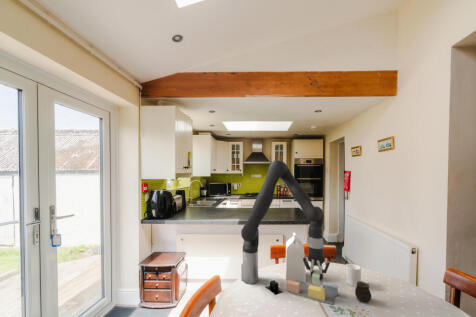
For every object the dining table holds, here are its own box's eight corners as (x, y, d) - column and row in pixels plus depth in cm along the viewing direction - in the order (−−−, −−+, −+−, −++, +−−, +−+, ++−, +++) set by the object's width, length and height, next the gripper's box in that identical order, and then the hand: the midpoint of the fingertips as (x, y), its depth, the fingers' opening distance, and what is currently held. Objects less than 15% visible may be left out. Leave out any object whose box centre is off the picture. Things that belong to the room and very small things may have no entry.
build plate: (286, 294, 117) (286, 285, 117) (275, 298, 114) (275, 289, 114) (272, 283, 128) (271, 275, 128) (261, 287, 124) (261, 278, 125)
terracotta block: (285, 289, 120) (285, 282, 120) (287, 286, 123) (287, 279, 123) (298, 293, 116) (298, 285, 116) (300, 290, 119) (300, 282, 120)
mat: (288, 292, 118) (288, 291, 118) (295, 281, 129) (295, 281, 129) (333, 305, 107) (333, 304, 107) (335, 292, 118) (335, 291, 118)
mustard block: (308, 296, 114) (308, 288, 114) (309, 292, 117) (309, 284, 117) (324, 300, 110) (324, 292, 110) (325, 296, 113) (325, 288, 113)
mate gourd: (362, 294, 116) (361, 275, 116) (375, 302, 108) (375, 282, 109) (351, 297, 113) (351, 277, 113) (364, 306, 106) (364, 284, 106)
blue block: (322, 292, 117) (322, 284, 118) (323, 289, 120) (323, 281, 121) (337, 295, 114) (336, 287, 114) (337, 292, 117) (337, 284, 117)
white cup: (346, 286, 124) (346, 268, 124) (345, 279, 131) (345, 262, 132) (362, 289, 121) (361, 270, 122) (360, 282, 128) (359, 264, 129)
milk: (285, 271, 143) (284, 230, 144) (303, 272, 141) (302, 231, 142) (285, 280, 131) (285, 236, 132) (305, 282, 129) (304, 237, 130)
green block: (314, 275, 118) (314, 268, 118) (321, 277, 116) (321, 270, 116) (312, 283, 112) (311, 275, 112) (319, 285, 110) (319, 277, 110)
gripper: (331, 245, 115) (332, 279, 114) (303, 241, 122) (304, 273, 121) (329, 250, 108) (330, 286, 107) (300, 245, 115) (301, 279, 114)
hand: (316, 279), depth 114 cm, fingers closed on green block, 3 cm apart
